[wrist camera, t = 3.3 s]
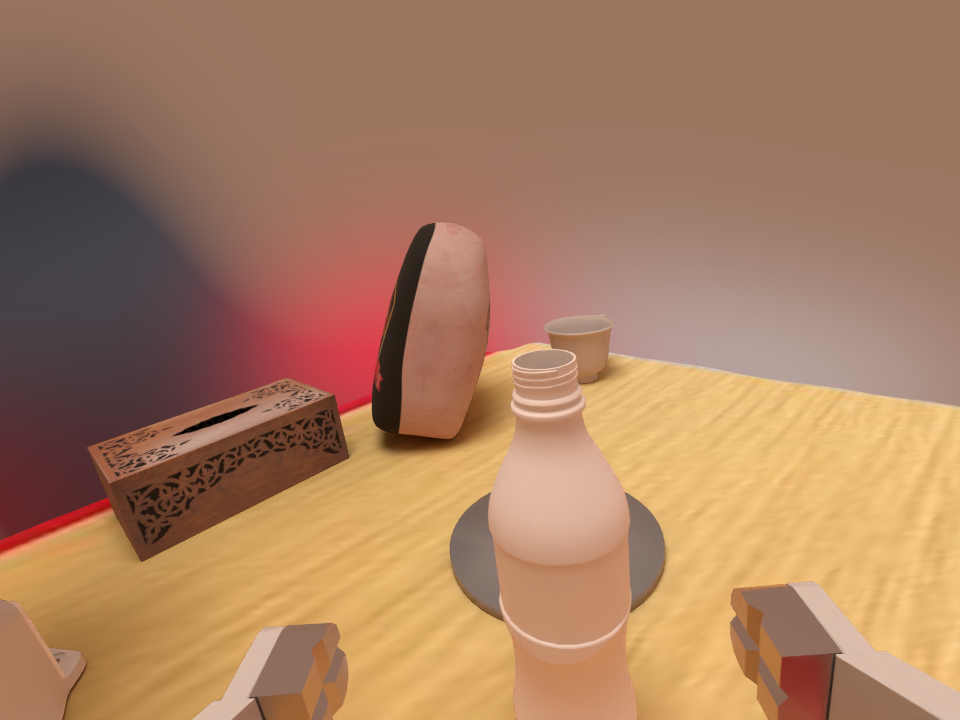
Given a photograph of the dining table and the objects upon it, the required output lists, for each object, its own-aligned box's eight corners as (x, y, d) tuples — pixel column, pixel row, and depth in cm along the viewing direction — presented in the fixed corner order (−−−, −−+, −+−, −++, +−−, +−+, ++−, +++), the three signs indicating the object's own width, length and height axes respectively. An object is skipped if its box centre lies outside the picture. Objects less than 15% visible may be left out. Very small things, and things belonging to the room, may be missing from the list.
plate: (412, 599, 43) (410, 588, 43) (495, 477, 60) (494, 468, 60) (655, 660, 35) (655, 647, 34) (670, 498, 52) (670, 488, 52)
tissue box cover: (142, 563, 53) (109, 483, 50) (116, 516, 63) (87, 447, 60) (349, 459, 70) (334, 394, 67) (302, 435, 80) (287, 377, 77)
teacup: (638, 367, 89) (636, 313, 86) (592, 396, 80) (589, 336, 76) (581, 358, 98) (578, 309, 94) (534, 383, 88) (529, 329, 85)
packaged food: (386, 405, 87) (351, 231, 78) (495, 388, 88) (474, 215, 79) (373, 467, 66) (323, 240, 57) (516, 444, 67) (491, 218, 58)
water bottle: (504, 707, 33) (451, 354, 25) (600, 671, 34) (578, 328, 27) (546, 831, 26) (492, 402, 19) (663, 779, 28) (658, 365, 20)
